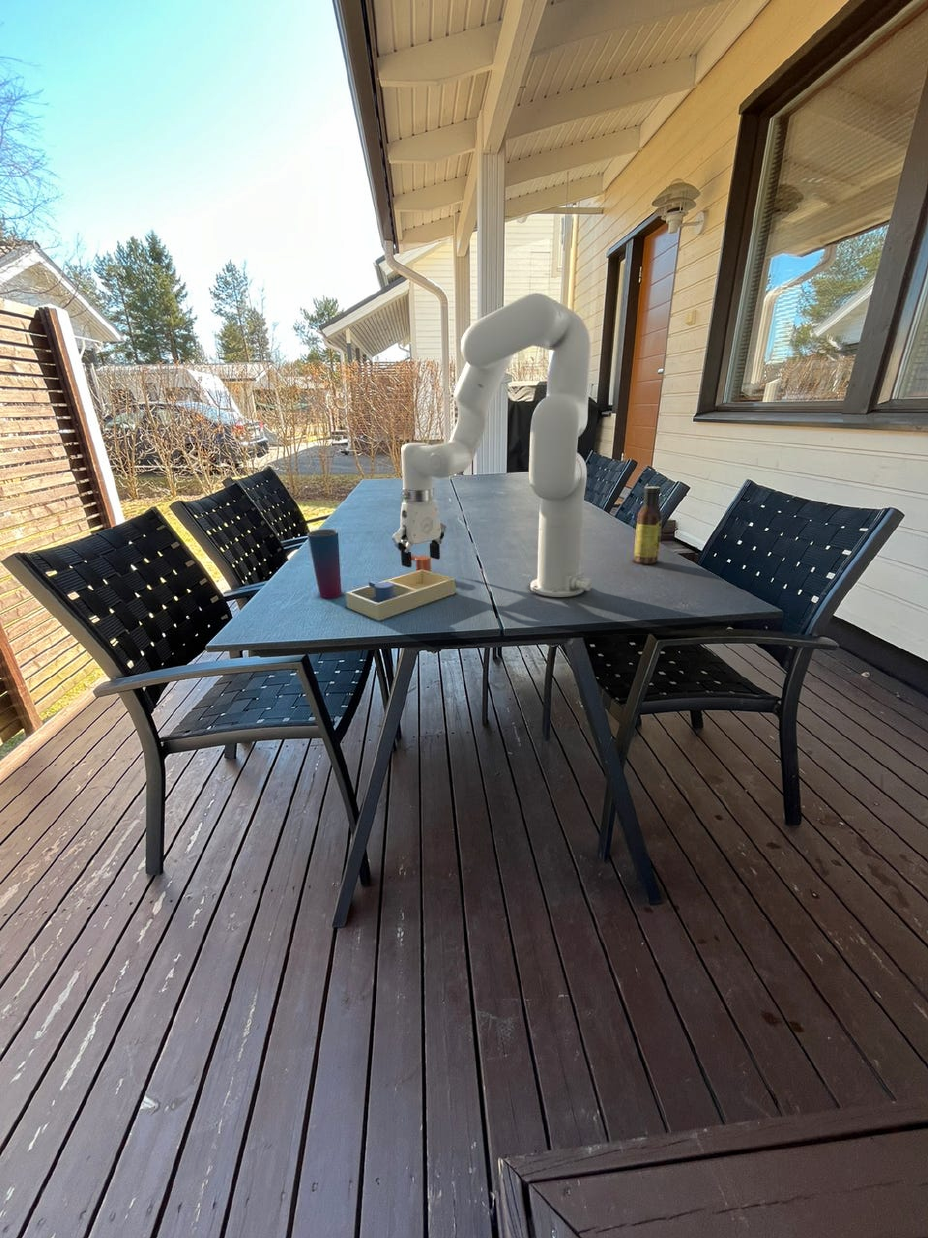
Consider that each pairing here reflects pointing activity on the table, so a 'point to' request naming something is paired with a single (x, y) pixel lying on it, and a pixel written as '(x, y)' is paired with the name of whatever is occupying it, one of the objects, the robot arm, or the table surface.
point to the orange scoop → (422, 562)
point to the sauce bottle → (648, 528)
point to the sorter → (402, 594)
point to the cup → (326, 561)
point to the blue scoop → (382, 590)
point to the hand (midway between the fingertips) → (421, 562)
